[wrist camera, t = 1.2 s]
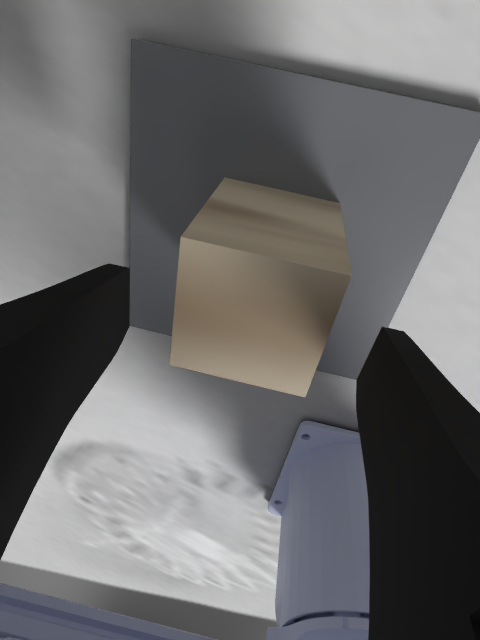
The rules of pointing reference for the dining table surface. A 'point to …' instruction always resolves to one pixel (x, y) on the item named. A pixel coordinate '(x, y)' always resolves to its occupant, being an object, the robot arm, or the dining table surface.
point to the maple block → (259, 286)
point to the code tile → (288, 174)
